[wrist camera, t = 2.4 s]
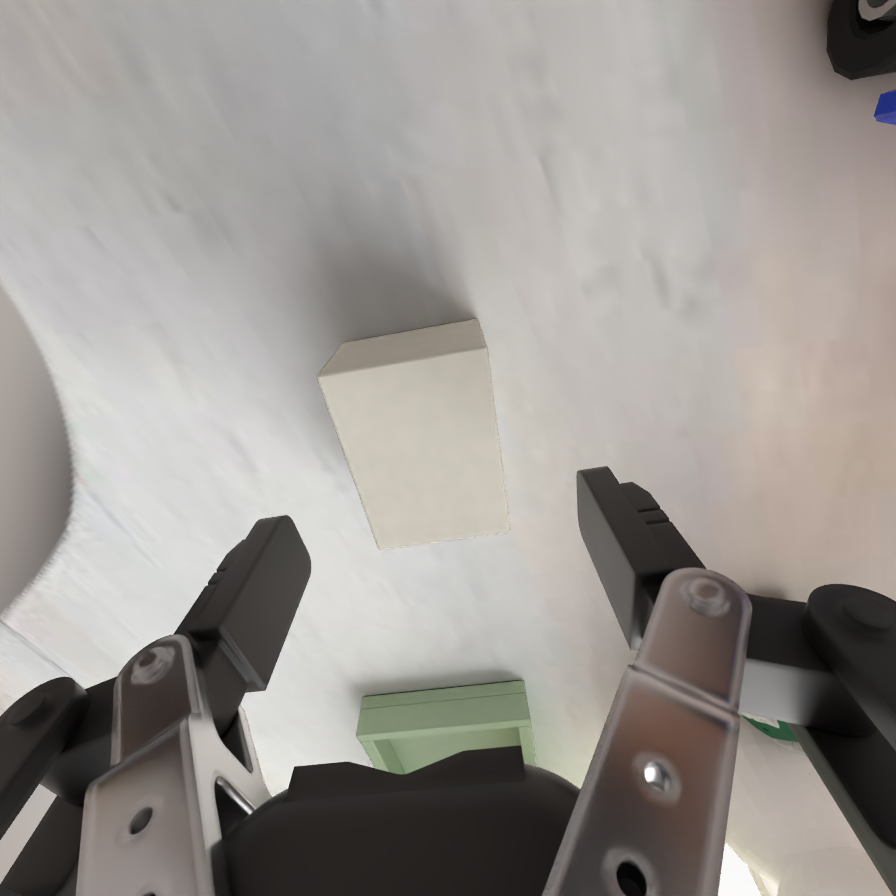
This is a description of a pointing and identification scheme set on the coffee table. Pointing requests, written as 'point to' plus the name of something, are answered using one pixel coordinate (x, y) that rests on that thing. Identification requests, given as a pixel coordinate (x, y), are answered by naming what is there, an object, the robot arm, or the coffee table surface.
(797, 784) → the cat figurine
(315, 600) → the coffee table surface
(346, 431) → the beige rectangular block
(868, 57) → the toy car
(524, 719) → the shallow green tray
